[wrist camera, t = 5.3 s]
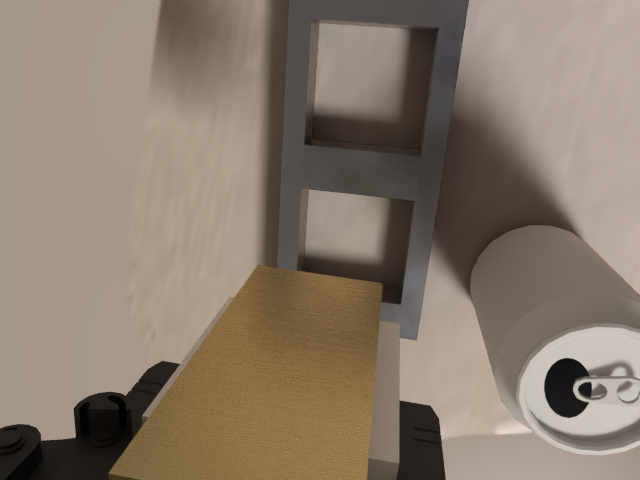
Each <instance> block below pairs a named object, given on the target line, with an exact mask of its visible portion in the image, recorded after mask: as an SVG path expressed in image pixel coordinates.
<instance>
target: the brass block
mask: <svg viewBox="0 0 640 480" xmlns="http://www.w3.org/2000/svg"><path fill="white" fill-rule="evenodd" d="M382 285H383V283H377V282H370V281H363V280H356V279H350V278H343V277H336V276H329V275H323V274H316V273H309V272H302V271H295V270H289V269H282V268H275V267H268V266H262V265H258V266H257V267H256V268H255V270H254V271H253V273H252V274H251V275H250V277H249V278H248V279H247V281H246V282H245V284H244V285H243V286H242V288H241V289H240V291H239V292H238V293H237V295H236V296H235V298H234V299H233V300H232V302H231V303H230V305H229V306H228V307H227V309H226V310H225V312H224V313H223V314H222V316H221V317H220V318H219V320H218V321H217V323H216V324H215V325H214V327H213V328H212V330H211V331H210V332H209V334H208V335H207V337H206V338H205V339H204V341H203V342H202V344H201V345H200V346H199V348H198V349H197V351H196V352H195V353H194V355H193V356H192V357H191V359H190V360H189V362H188V363H187V364H186V366H185V367H184V369H183V370H182V371H181V373H180V374H179V376H178V377H177V378H176V380H175V381H174V383H173V384H172V385H171V387H170V388H169V390H168V391H167V392H166V394H165V395H164V397H163V398H162V399H161V401H160V402H159V403H158V405H157V406H156V408H155V409H154V410H153V412H152V413H151V415H150V416H149V417H148V419H147V420H146V422H145V423H144V424H143V426H142V427H141V429H140V430H139V431H138V433H137V434H136V436H135V437H134V438H133V440H132V441H131V442H130V444H129V445H128V447H127V448H126V449H125V451H124V452H123V454H122V455H121V456H120V458H119V459H118V461H117V462H116V463H115V465H114V466H113V468H112V469H111V470H110V472H109V473H108V476H109V480H367V471H368V458H369V446H370V434H371V421H372V409H373V397H374V384H375V372H376V359H377V347H378V335H379V322H380V310H381V297H382Z"/></svg>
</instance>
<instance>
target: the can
mask: <svg viewBox="0 0 640 480" xmlns="http://www.w3.org/2000/svg"><path fill="white" fill-rule="evenodd" d="M470 293H471V297H472V300H473V304H474V307H475V311H476V314H477V318H478V322H479V325H480V329H481V332H482V336H483V339H484V343H485V346H486V350H487V354H488V357H489V361H490V364H491V368H492V371H493V375H494V378H495V382H496V385H497V388H498V392H499V395H500V398H501V401H502V402H503V404H504V405H505V406H506V407H507V409H508V410H509V411H510V413H511V414H512V415H513V417H514V418H515V419H516V420H517V421H519V422H520V423H522V424H523V425H525V426H526V427H528V428H529V429H530V430H532V431H533V433H534V434H536V435H537V436H539V437H540V438H542V439H543V440H545V441H546V442H548V443H549V444H550V445H552V446H554V447H557V448H560V449H563V450H566V451H569V452H572V453H575V454H588V455H606V454H612V453H617V452H624V451H627V450H629V449H632V448H634V447H636V446H639V445H640V295H639V294H638V293H637V292H636V291H635V290H634V289H633V288H632V287H631V286H630V285H629V284H628V283H627V282H626V281H625V280H624V279H623V278H622V277H621V276H620V275H619V274H618V273H617V272H616V271H615V270H614V269H613V268H612V267H610V266H609V265H608V264H607V263H606V262H605V261H604V260H603V259H602V258H601V257H600V256H599V255H598V254H597V253H596V252H595V251H594V250H593V249H592V248H591V247H590V246H589V245H588V244H587V243H586V242H584V241H583V240H582V239H580V238H579V237H578V236H576V235H575V234H573V233H572V232H570V231H567V230H564V229H561V228H557V227H554V226H551V225H529V226H525V227H522V228H518V229H514V230H511V231H508V232H507V233H505V234H503V235H502V236H500V237H498V238H497V239H495V240H494V241H492V242H491V243H490V244H489V245H488V246H487V247H486V248H485V250H484V251H483V252H482V253H481V254H480V255H479V256H478V258H477V261H476V263H475V265H474V268H473V270H472V273H471V282H470Z"/></svg>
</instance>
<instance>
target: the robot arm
mask: <svg viewBox="0 0 640 480" xmlns="http://www.w3.org/2000/svg"><path fill="white" fill-rule="evenodd" d="M233 299H234V298H232V297H229V299H228V300H227V301H226V303H225V304H224V305H223V307H222V308H221V310H220V311H219V312H218V314H217V315H216V316H215V318H214V319H213V320H212V322H211V323H210V324H209V326H208V327H207V329H206V330H205V331H204V333H203V334H202V335H201V337H200V338H199V339H198V341H197V342H196V343H195V345H194V346H193V347H192V349H191V350H190V352H189V353H188V354H187V356H186V357H185V358H184V360H183V361H182V362H181V364H177V363H171V362H165V361H161V362H159V363H158V364H156V365H154V366H153V367H151V368H149V369H148V370H147V371H146V372H145V373H144V374H143V376H142V377H141V378H140V379H139V382H137V383H136V384H135V385H134V387H133V388H132V390H131V391H129V393H128V394H127V395H126V396H125V395H123V394H121V393H115V392H105V393H98V394H95V395H91V396H89V397H87V398H85V399H83V400H82V401H80V402H79V403H78V404H77V405H76V407H75V408H74V417H75V429H76V438H71V439H63V440H47V441H41V434H40V432H39V431H38V430H37V428H35V427H33V426H30V425H22V424H17V425H11V426H6V427H3V428H1V429H0V480H109V476H108V473H109V472H110V470H111V469H112V468H113V466H114V465H115V463H116V462H117V461H118V459H119V458H120V456H121V455H122V454H123V452H124V451H125V449H126V448H127V447H128V445H129V444H130V442H131V441H132V440H133V438H134V437H135V436H136V434H137V433H138V431H139V430H140V429H141V427H142V426H143V424H144V423H145V422H146V420H147V419H148V417H149V416H150V415H151V413H152V412H153V410H154V409H155V408H156V406H157V405H158V403H159V402H160V401H161V399H162V398H163V397H164V395H165V394H166V392H167V391H168V390H169V388H170V387H171V385H172V384H173V383H174V381H175V380H176V378H177V377H178V376H179V374H180V373H181V371H182V370H183V369H184V367H185V366H186V364H187V363H188V362H189V360H190V359H191V357H192V356H193V355H194V353H195V352H196V351H197V349H198V348H199V346H200V345H201V344H202V342H203V341H204V339H205V338H206V337H207V335H208V334H209V332H210V331H211V330H212V328H213V327H214V325H215V324H216V323H217V321H218V320H219V318H220V317H221V316H222V314H223V313H224V312H225V310H226V309H227V307H228V306H229V305H230V303H231V302H232V300H233ZM399 366H400V323H393V322H387V321H380V322H379V335H378V347H377V359H376V372H375V384H374V397H373V409H372V421H371V434H370V446H369V458H368V471H367V480H446V479H445V469H444V461H443V452H442V446H441V443H442V442H441V435H440V424H439V418H438V417H437V415H436V414H435V412H434V411H433V409H432V408H431V406H428V405H422V404H417V403H411V402H405V401H399Z"/></svg>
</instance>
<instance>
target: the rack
mask: <svg viewBox="0 0 640 480" xmlns="http://www.w3.org/2000/svg"><path fill="white" fill-rule="evenodd" d="M468 3H469V0H289V5H288V27H287V49H286V72H285V94H284V117H283V139H282V162H281V184H280V206H279V229H278V251H277V268H282V269H289V270H295V271H302V272H303V270H304V255H305V239H306V224H307V208H308V192H309V189H311V190H320V191H329V192H339V193H348V194H357V195H366V196H376V197H385V198H394V199H403V200H413V206H412V213H411V220H410V228H409V235H408V242H407V250H406V257H405V264H404V272H403V279H402V287H401V288H399V287H391V286H384V285H382V297H381V310H380V321H387V322H393V323H400V338H404V339H411V340H417V336H418V329H419V323H420V316H421V310H422V303H423V297H424V290H425V283H426V277H427V270H428V264H429V257H430V251H431V244H432V238H433V231H434V225H435V218H436V212H437V205H438V199H439V192H440V185H441V179H442V172H443V166H444V159H445V153H446V146H447V140H448V133H449V127H450V120H451V114H452V107H453V101H454V94H455V88H456V81H457V74H458V68H459V61H460V55H461V48H462V42H463V35H464V29H465V22H466V16H467V9H468ZM319 23H328V24H344V25H359V26H374V27H390V28H405V29H421V30H436V37H435V44H434V51H433V59H432V66H431V73H430V81H429V88H428V95H427V103H426V110H425V117H424V125H423V132H422V139H421V147H420V149H412V148H401V147H391V146H380V145H370V144H359V143H349V142H338V141H327V140H317V139H312V130H313V114H314V98H315V83H316V67H317V51H318V36H319Z"/></svg>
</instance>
